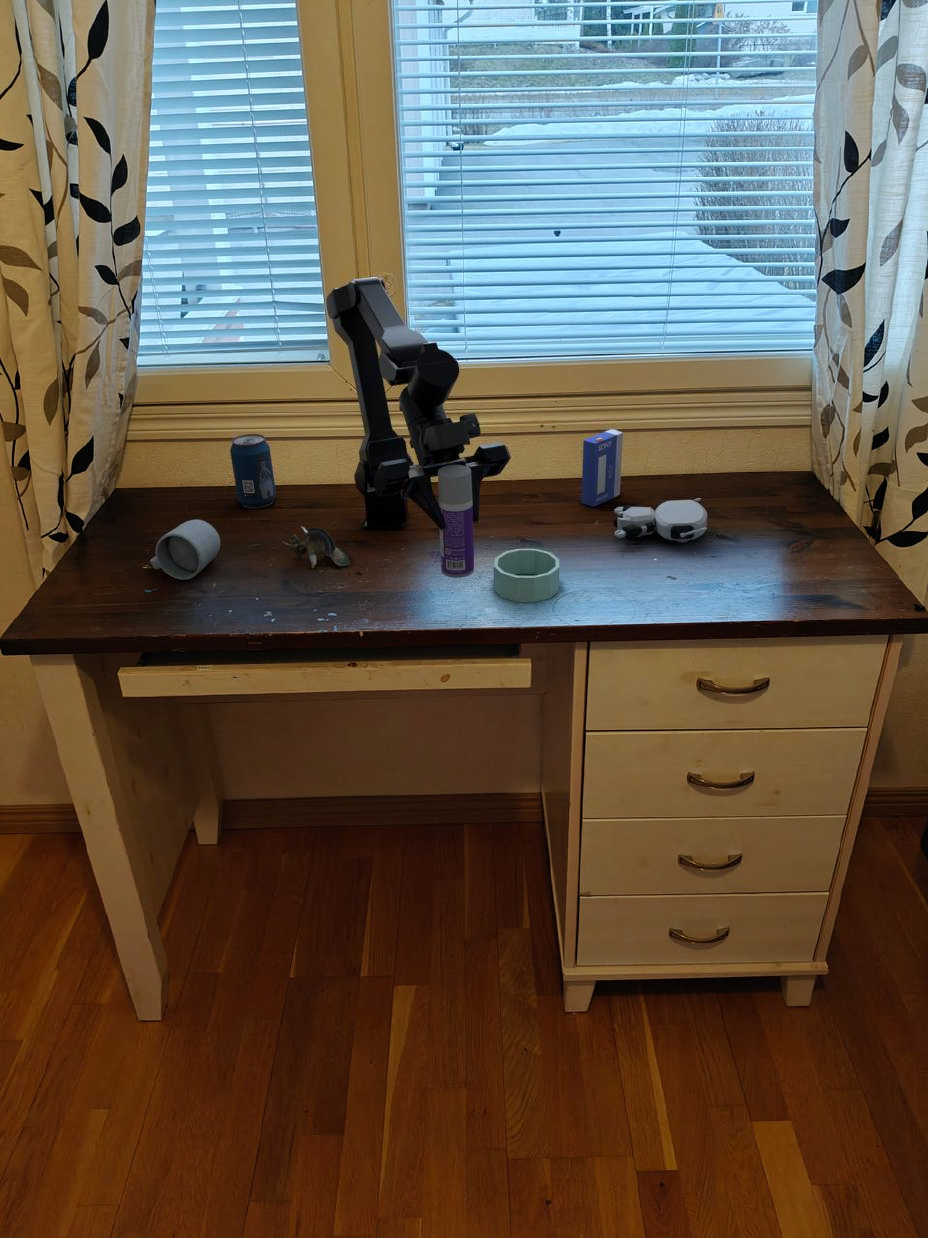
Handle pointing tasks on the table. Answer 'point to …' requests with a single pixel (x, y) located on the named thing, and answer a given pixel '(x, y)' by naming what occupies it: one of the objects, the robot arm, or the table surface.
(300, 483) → the table surface
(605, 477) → the walkman
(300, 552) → the grey-brown animal figure
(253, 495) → the soda can
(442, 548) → the container
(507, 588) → the pale green faceted ring
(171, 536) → the ceramic mug
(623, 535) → the robot toy
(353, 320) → the robot arm
